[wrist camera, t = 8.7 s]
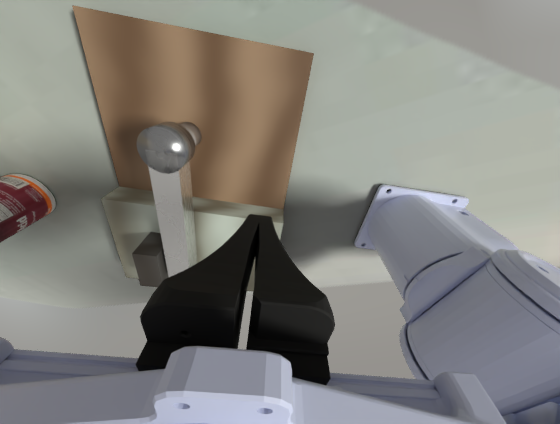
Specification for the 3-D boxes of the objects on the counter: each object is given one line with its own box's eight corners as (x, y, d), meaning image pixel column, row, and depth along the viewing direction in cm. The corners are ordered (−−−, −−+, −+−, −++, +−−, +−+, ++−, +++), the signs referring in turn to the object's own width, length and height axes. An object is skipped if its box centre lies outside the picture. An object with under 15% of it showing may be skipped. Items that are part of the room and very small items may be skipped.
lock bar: (149, 118, 15) (132, 123, 13) (194, 125, 15) (182, 131, 13) (172, 260, 22) (163, 276, 20) (202, 264, 22) (195, 279, 20)
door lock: (312, 54, 16) (327, 42, 10) (270, 270, 28) (267, 317, 22) (84, 9, 15) (-35, -32, 9) (143, 255, 27) (107, 301, 21)
